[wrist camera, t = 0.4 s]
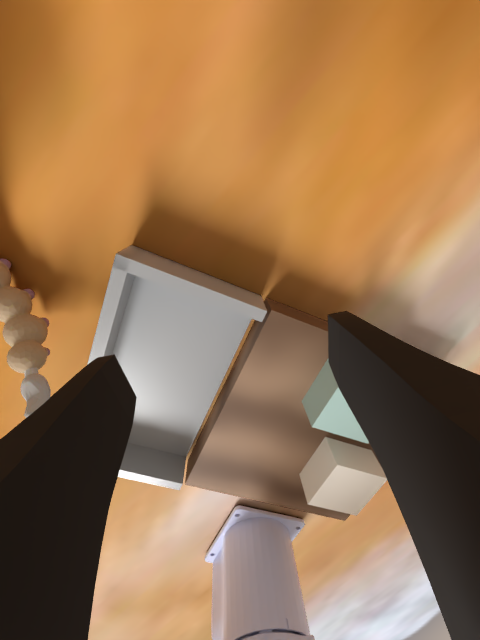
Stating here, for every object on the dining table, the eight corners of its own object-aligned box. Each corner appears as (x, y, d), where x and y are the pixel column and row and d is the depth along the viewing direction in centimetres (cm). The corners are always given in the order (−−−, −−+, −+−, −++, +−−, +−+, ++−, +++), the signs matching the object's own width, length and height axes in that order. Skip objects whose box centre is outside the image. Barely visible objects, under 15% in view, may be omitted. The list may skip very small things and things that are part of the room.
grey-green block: (352, 417, 22) (368, 443, 20) (301, 401, 21) (311, 427, 19) (385, 371, 21) (406, 394, 18) (332, 351, 20) (347, 373, 17)
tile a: (343, 485, 25) (356, 515, 23) (299, 474, 24) (307, 504, 22) (371, 450, 24) (388, 478, 21) (325, 436, 23) (337, 464, 21)
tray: (183, 459, 26) (179, 490, 24) (79, 433, 24) (61, 464, 22) (261, 295, 20) (267, 311, 18) (131, 244, 18) (115, 253, 16)
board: (335, 496, 30) (345, 520, 27) (187, 460, 26) (184, 484, 24) (439, 365, 24) (462, 383, 22) (266, 297, 20) (271, 309, 18)
